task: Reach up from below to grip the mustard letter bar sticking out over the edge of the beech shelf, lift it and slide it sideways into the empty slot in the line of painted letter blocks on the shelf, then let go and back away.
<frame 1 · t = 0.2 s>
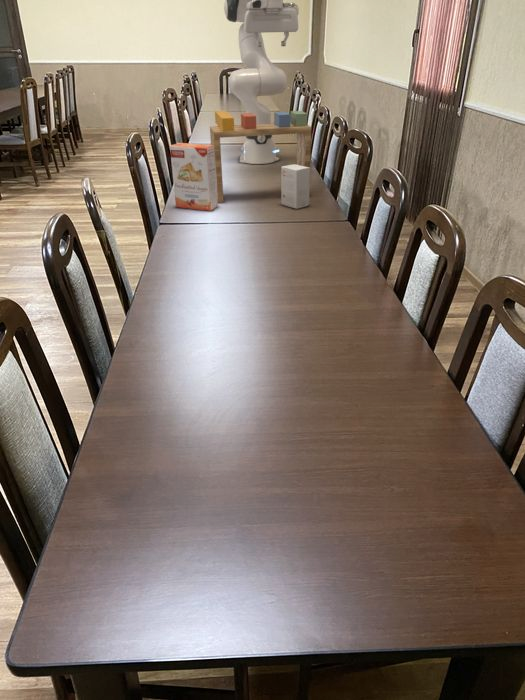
hand: (271, 46, 203), 48 cm above the table, tool pointing down, fingers open, 8 cm apart
shelf: (261, 195, 201), on the table
letter bar: (224, 126, 190), point 24 cm above the table, touching shelf
small box: (295, 205, 189), on the table
block a: (298, 124, 191), point 24 cm above the table, touching shelf
block c: (248, 127, 188), point 24 cm above the table, touching shelf
cracker box: (196, 208, 188), on the table
block b: (282, 125, 190), point 24 cm above the table, touching shelf
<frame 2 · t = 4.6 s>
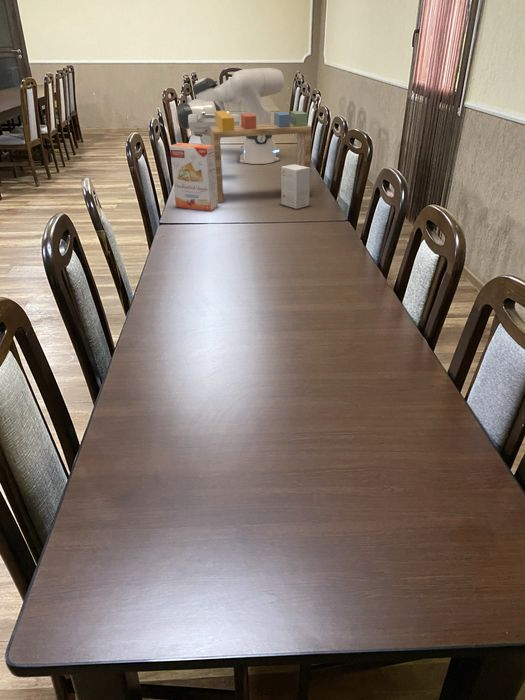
hand: (215, 113, 204), 26 cm above the table, tool pointing upward, fingers open, 8 cm apart
nothing on the table moved.
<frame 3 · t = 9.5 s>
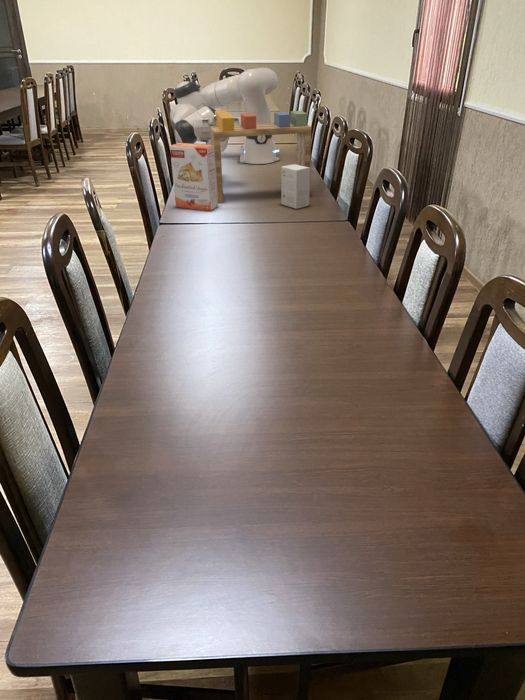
hand: (221, 116, 194), 26 cm above the table, tool pointing upward, fingers closed on letter bar, 4 cm apart
letter bar: (224, 126, 190), point 24 cm above the table, touching gripper, shelf
everything else where it was.
when the fingers open (26 cm above the table, at t = 19.7 s): letter bar stays where it is, resting on shelf.
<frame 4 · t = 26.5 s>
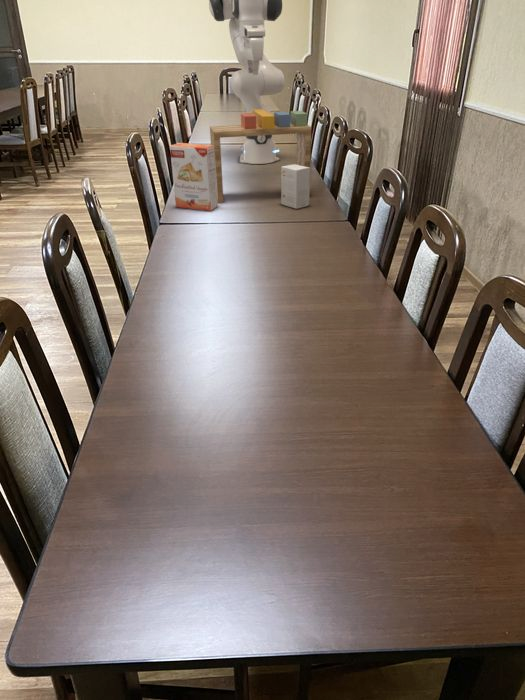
hand: (253, 74, 200), 39 cm above the table, tool pointing down, fingers open, 8 cm apart
letter bar: (263, 124, 192), point 24 cm above the table, touching shelf
everything else where it was.
at the end: letter bar 0.1 cm from the target spot, point 24.0 cm above the table; letter bar tilted 0°; the gripper is holding nothing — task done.
